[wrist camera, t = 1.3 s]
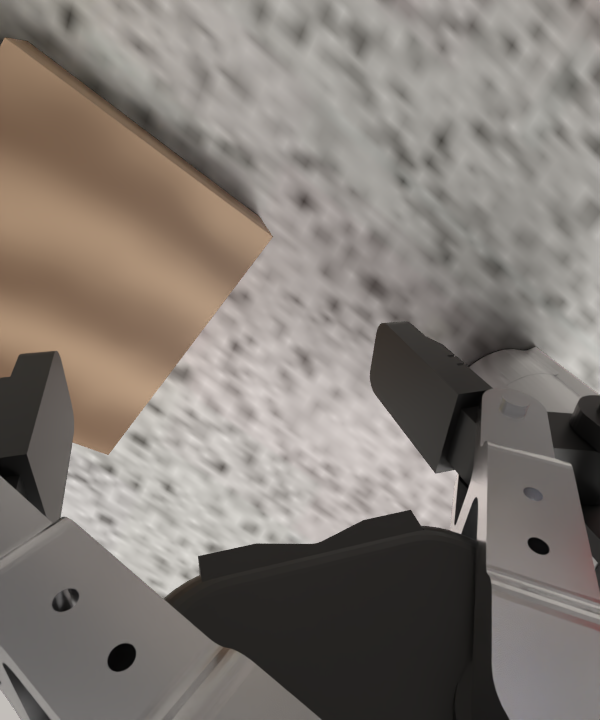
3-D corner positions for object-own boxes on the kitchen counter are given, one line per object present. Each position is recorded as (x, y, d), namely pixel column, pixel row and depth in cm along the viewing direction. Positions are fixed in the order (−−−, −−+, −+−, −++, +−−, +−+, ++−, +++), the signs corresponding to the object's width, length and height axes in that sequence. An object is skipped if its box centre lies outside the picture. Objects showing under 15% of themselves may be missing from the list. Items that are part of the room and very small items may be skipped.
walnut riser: (27, 40, 22) (4, 37, 19) (259, 217, 29) (272, 236, 26) (-116, 326, 27) (-153, 363, 24) (113, 417, 34) (108, 455, 31)
